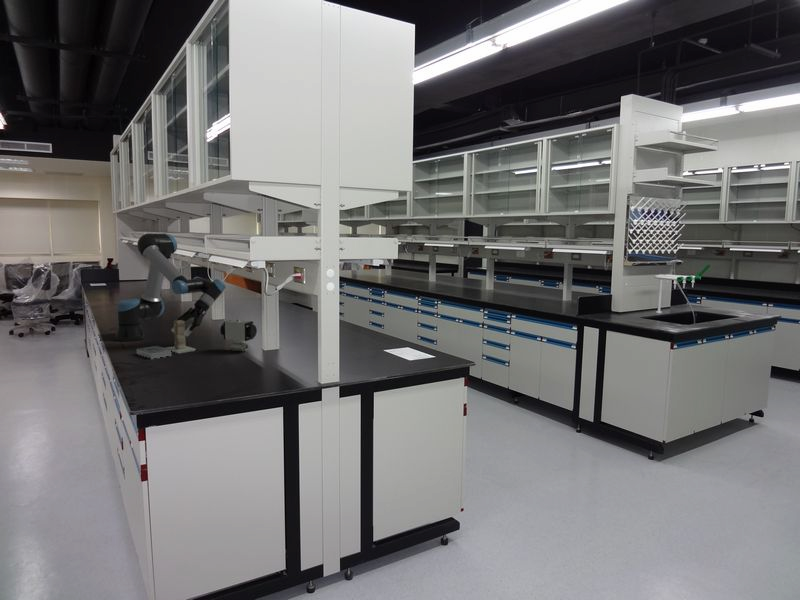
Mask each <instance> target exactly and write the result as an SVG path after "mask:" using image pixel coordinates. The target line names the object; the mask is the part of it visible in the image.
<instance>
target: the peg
mask: <svg viewBox="0 0 800 600" xmlns="http://www.w3.org/2000/svg"><path fill="white" fill-rule="evenodd" d="M185 322H186V321H183V320H173V327H174V333H173V335H174V346H175V349H184V348H186V346H187V345H186V344H187V343H186V336H185V335H184V334H183V333H184V332H185V331H186V323H185Z"/></svg>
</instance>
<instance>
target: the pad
mask: <svg viewBox="0 0 800 600" xmlns="http://www.w3.org/2000/svg"><path fill="white" fill-rule="evenodd" d="M164 348H165V349H169V350H171V351H172V352H171V353H174V352H175V354H177V353H178V354H184V353H189V352H195V350H196V348H195V347H190V346H187V345H186V348H184V349H175V345H174V346H168V347H167V346H166V347H164ZM196 351H197V350H196Z"/></svg>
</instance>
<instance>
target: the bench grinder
mask: <svg viewBox="0 0 800 600" xmlns="http://www.w3.org/2000/svg"><path fill="white" fill-rule="evenodd" d="M257 332H258V330H257V326H256V325H255V324H254V321H251V320H241V318H238V317H237V318H236V319H235V320H233V319H230V320H226V321H223V323H222V324H221V326H220V331H219V333H220V334H221V336H223V340H229V341H233V342H231V343H230V344H229V349H230V350H231V351H234V352H246V351H248V350H249V345H248V343H246V342H248V341H251V340H254V339H255V337H256V335H257Z"/></svg>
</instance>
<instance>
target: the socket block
mask: <svg viewBox="0 0 800 600" xmlns="http://www.w3.org/2000/svg"><path fill="white" fill-rule="evenodd" d="M165 348H166V347H162V346H159V345H154V346H147V347H140V348H136V355H137V354H138V355H137V356H140V355H141V356H140V357H143V356H144V357H143V358H145V357H147V358H146V359H148V358H150V359H149V360H155V359H154V358H157V359H161V358H160V357H163V358H166V356H169V357H172V352H171V350H169V349H165Z"/></svg>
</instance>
